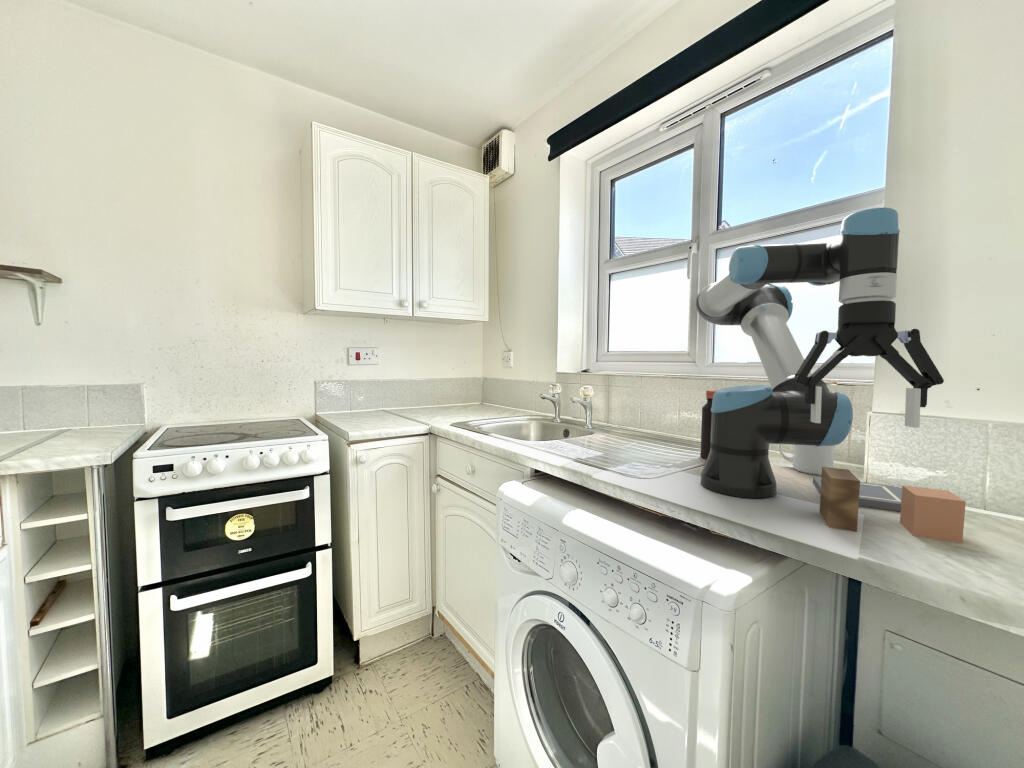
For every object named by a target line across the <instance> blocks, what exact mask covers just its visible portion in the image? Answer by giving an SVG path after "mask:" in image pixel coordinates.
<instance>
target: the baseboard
mask: <svg viewBox="0 0 1024 768" xmlns="http://www.w3.org/2000/svg"><path fill="white" fill-rule="evenodd" d="M821 478H822V476H813V477H812V483H813V485H814V487H815V488H816V490H817V492H818V493H819V495H821ZM889 485H890V484H888V485H887V484H881V483H880V484H879V483H871V482H863V481H860V491H859V507H866V508H872V509H880V510H887V511H894V512H900V513H901V500H902V488H899V487H900V486H899V487H894V486H895V485H890V486H889Z"/></svg>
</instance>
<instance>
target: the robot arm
mask: <svg viewBox="0 0 1024 768" xmlns="http://www.w3.org/2000/svg"><path fill="white" fill-rule="evenodd" d="M900 233H901V230H900V229H899V213H898V211H897V210H896V209H894V208H891V207H886V206H885V207H871V208H867V209H862V210H859V211H855V212H853V213H851V214H848V215H847V216H845V217H844V218H843V220H842V221H841V227H840V231H839V234H840V236H839V237H838V238H836V239H834V240H832V241H828V242H810V243H809V242H806V243H805V242H804V243H789V244H787V243H784V244H783V243H781V244H779V243H778V244H752V245H745V246H738V247H737V248H735V249H734V251H733V252H732V254H731V256H730V259H729V264H728V271H727V272H726V273H724V274H723V275H722V276H721V277H720V278H719V279H717V280H716V282H712V283H710V284H708V285H705V286H704V287H703V288H702V289H701V291H700V292H699V293H698V294H697V297H696V298H695V299H696V300H695V308H696V311H697V313H698V314H699V316H700V317H701V318H702V319H704V320H705V321H706V322H709V323H711V324H714V325H718V326H740V327H741V328H740V329H741V330H742V332H743V333H744V334H745V335H747V336H749V337H751V339H752V341H753V344H754V347H755V349H756V352H757V354H758V357H759V360H760V362H761V364H762V367H763V369H764V373H765V375H766V377H767V379H768V382H769V385H765V384H756V385H755V384H754V385H749V384H747V385H739V386H738V385H737V386H729V387H723V388H720V389H717V391H716V392H715V393H714V395H713V400H712V408H711V412H712V417H711V445H710V453H709V456H708V458H707V459H705V464H704V465H703V468H702V471H701V473H700V485H702V486H703V487H704V488H705V489H708V490H710V491H713V492H716V493H719V494H723V495H727V496H733V497H737V498H738V497H739V498H749V499H765V498H766V499H767V498H770V497H774V496H775V495H776V494H777V481H776V477H775V473H774V472H773V469H772V465H771V461H770V459H769V451H770V450H769V449H770V444H771V445H773V444H774V445H775V444H776V445H779V444H782V445H793V446H794V445H814V446H817V447H819V446H834V445H835V446H837V445H840V444H842V443H843V442H844V441H845V440H846V439H847V437H848V435H849V433H850V431H851V429H852V426H853V418H854V410H853V405H852V402H851V399H850V398H849V396H848V395H846V394H845V393H840V392H838V391H836V392H831V391H830V389H829V388H828V385H827V384H826V382H825V381H824V380H823V379H824V378H825V377H826V376H827V375H828V374H829V373H830V372H832V370H834V369H835V368H836V367H837V366H838V365H839V364H840V363H841V362H842V361H843V360H844V359H846V358H848V356H850V357H862V356H863V357H878V356H879V357H881V358H882V359H883V360H885V361H886V362H887V363H888V364H889V365H890V366H891V367H892V368H893V369H894V370H895V371H896V372H897V373H899V375H900V376H901V377H902V378H903V379H904V380H905V381H906V382H908V383H909V384H910V385H911V387H905V405H904V406H905V408H904V409H905V410H904V426H905V427H909V428H914V429H915V428H918V429H920V424H921V423H920V420H921V418H920V417H921V408H926V407H927V405H928V390H929V389H930V388H932V387H934V386H937V385H942V384H943V383H944V381H945V380H944V378H943V376H942V375H941V373H940V371H939V370H938V368H937V366H936V364H935V363H934V361H933V359H932V358H931V357H930V354H929V352H928V351H927V349H926V348H925V347H924V345H923V343H922V342H921V332H920V330H919V329H918V328H911V329H906V330H902V331H898V330H896V328H895V324H896V314H897V313H896V311H897V310H896V305H897V303H896V302H895V301H893V300H894V299H895V298H896V297H897V279H898V275H897V270H898V256H899V240H900V237H899V236H900ZM838 282H839V286H838V289H839V290H838V302H839V303H840V304H841V305H840V306H839V307H838V316H837V320H838V321H837V331H836V332H833V331H832V332H831V331H830V332H829V331H828V330H821V331H818V332H816V334H815V339H814V344H813V346H812V347H811V349H810V351H808V353H807V355H806V356H805V358H804V357H803V354H802V352H801V349H800V347H799V346H798V344H797V342H796V340H795V338H794V337H793V334H792V332H791V330H790V328H789V326H788V324H787V323H788V321H789V320H790V318H791V316H792V313H793V308H794V307H793V305H794V304H793V302H792V300H793V297H792V294H791V292H790V290H789V289H788V288H787V287H786V286H784V285H782V284H789V283H791V284H792V283H793V284H794V283H807V284H810V285H812V286H816V287H817V286H818V287H821V286H826V285H833V284H835V283H838ZM897 339H898V340H899V342H900V343H902V344H903V346H904V348H905V349H906V352H907V353H908V355H909V356H910V358H911V360H912V362H913V363H914V365H915V366H916V368H917V369H918V370H917V369H915V368H914V367H913V366H912V365H911V364H910V362H908V361H907V360H906V359H905V358H904V357H903V356H902V355H901V354H900V353H899V350H897V348H896V347H894V346H893V343H894V342H895V341H896V340H897ZM833 340H835V342H837V344H838V345H839V347H838V348H837V349H836V350H835V351H834V352H833V353H832V354H831V355H830V357H829V358H828V359H826V361H824V362H823V363H822V364H821V365H820V366H819V367H818V368H817V369H816V370H815V371H814V372H813V373H812V370H813V368H814V366H815V365H816V364H817V362H818V360H819V358H820V357H821V355H822V353H824V350H825V349H826V347H827V345H828V344H831V343H832V341H833Z"/></svg>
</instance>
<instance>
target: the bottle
mask: <svg viewBox="0 0 1024 768" xmlns="http://www.w3.org/2000/svg"><path fill="white" fill-rule="evenodd" d="M717 390H718V389H717ZM717 390H716V389H708V390H706V391H705V392H706V393H705V399H706V403H705V404H704V405H703V406H702V407H701V427H700V428H701V429H700V430H701V433H700V434H701V435H700V458H702V459H704V460H707V458H708V456H709V453H710V445H711V417H712V412H711V408H712V400H713V395H714V393H715V392H716V391H717Z"/></svg>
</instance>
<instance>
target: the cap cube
mask: <svg viewBox="0 0 1024 768" xmlns="http://www.w3.org/2000/svg"><path fill="white" fill-rule="evenodd" d="M901 487H902V500H901V512H900V518H899V523H900V524H901V525H902V526H903V528H904V529H905V530H906V531H908V532H909V534H911V536H914V537H920V538H925V539H933V540H939V541H946V542H952V543H958V544H959V543H960V544H963V539H964V526H965V514H966V506H967V505H966V503H967V502H966V500H964V499H962V498H961V497H960V496H959V495H957V494H955V493H953V492H951V491H950V490H948V489H947V490H945V489H938V488H930V487H928V488H927V487H922V486H921V487H920V486H912V485H911V486H910V485H905V484H904V485H902V486H901Z"/></svg>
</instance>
